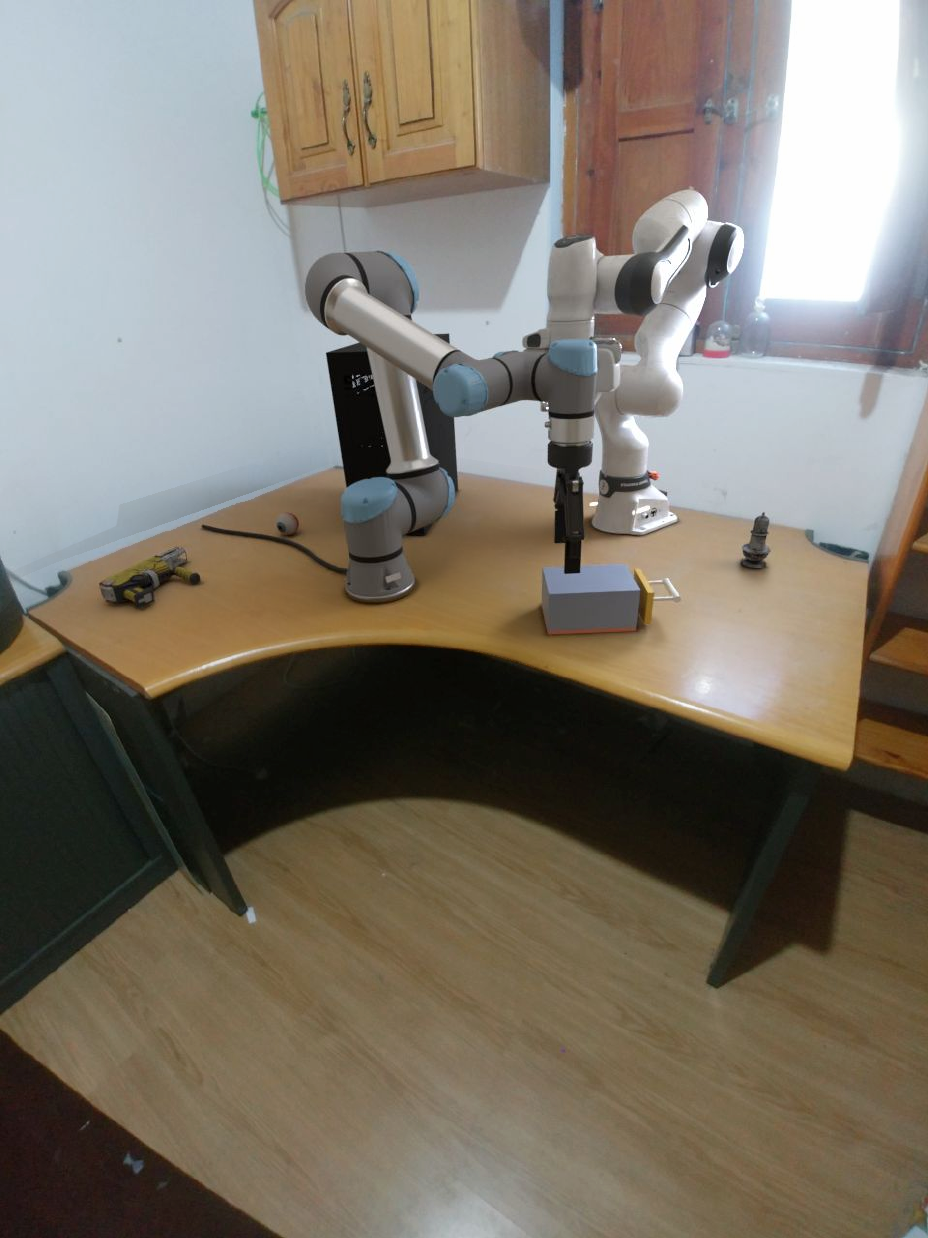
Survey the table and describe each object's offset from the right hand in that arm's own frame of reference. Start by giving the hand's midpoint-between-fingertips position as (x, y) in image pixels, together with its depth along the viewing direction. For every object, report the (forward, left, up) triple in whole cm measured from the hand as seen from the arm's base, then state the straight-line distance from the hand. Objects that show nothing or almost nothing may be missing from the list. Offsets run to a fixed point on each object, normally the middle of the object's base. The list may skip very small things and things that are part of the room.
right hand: (566, 413), depth 120 cm
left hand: (+12, +19, -21) cm, 31 cm away
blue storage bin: (+8, +21, -35) cm, 41 cm away
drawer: (+2, +23, -34) cm, 41 cm away
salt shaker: (-38, +19, -35) cm, 55 cm away
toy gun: (+83, -40, -35) cm, 98 cm away
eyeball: (+51, -57, -35) cm, 84 cm away
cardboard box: (+16, -57, -35) cm, 68 cm away
